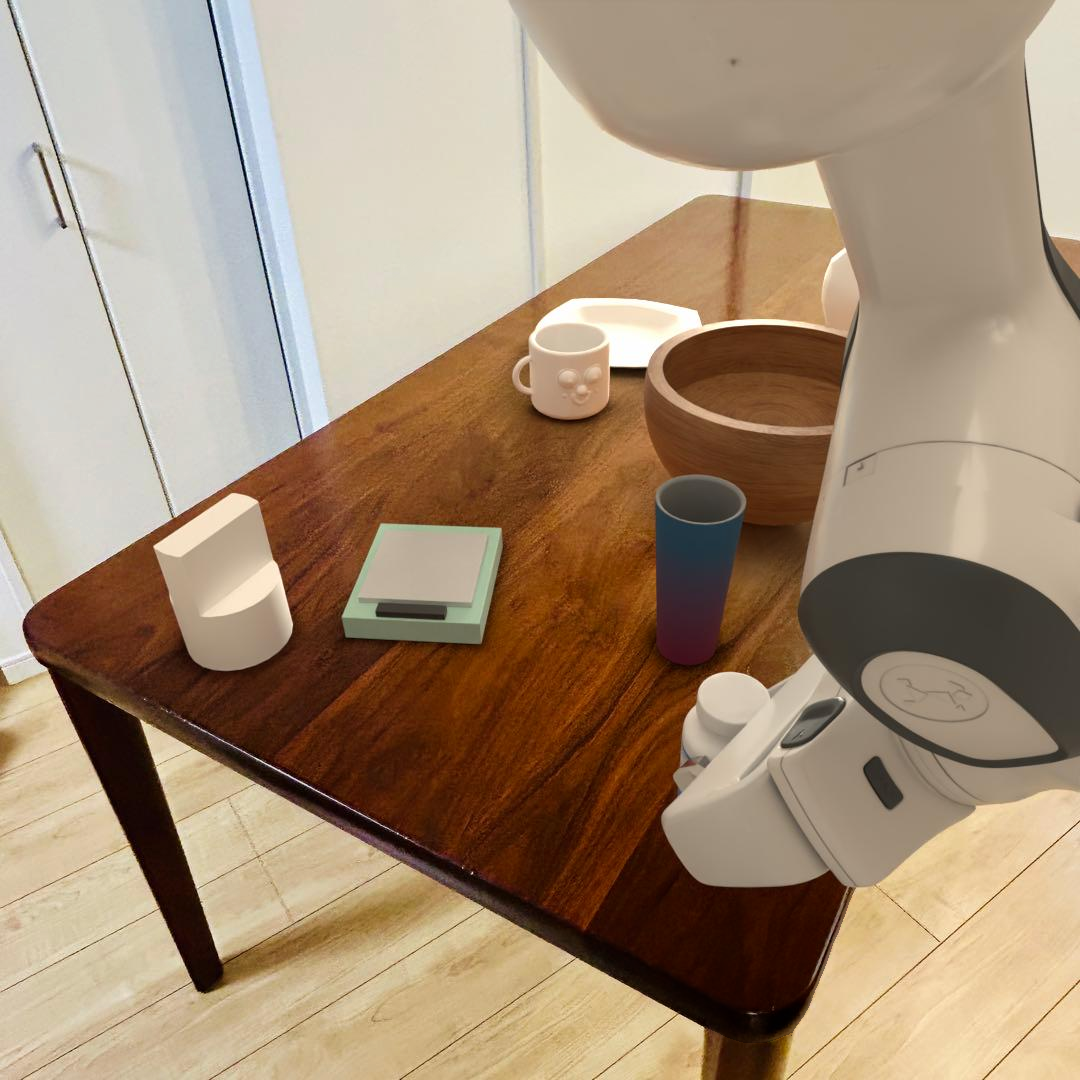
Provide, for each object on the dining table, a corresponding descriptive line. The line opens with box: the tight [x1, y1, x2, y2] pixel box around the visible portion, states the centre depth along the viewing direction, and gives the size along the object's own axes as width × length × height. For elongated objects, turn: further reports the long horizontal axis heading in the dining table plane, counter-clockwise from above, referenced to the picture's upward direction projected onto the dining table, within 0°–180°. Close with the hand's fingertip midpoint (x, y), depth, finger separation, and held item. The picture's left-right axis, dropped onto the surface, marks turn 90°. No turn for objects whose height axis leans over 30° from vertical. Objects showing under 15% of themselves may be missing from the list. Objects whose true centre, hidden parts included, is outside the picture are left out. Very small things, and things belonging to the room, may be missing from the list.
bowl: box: [643, 318, 848, 526], centre depth 89 cm, size 25×25×15 cm
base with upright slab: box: [153, 492, 294, 672], centre depth 76 cm, size 9×9×12 cm
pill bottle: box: [677, 671, 770, 797], centre depth 53 cm, size 6×5×10 cm
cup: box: [654, 475, 746, 666], centre depth 72 cm, size 7×7×15 cm
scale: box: [341, 522, 504, 645], centre depth 83 cm, size 14×12×3 cm
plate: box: [534, 297, 703, 369], centre depth 126 cm, size 23×23×2 cm
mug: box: [511, 322, 611, 421], centre depth 109 cm, size 12×10×9 cm
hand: (718, 745), depth 53 cm, fingers closed on pill bottle, 5 cm apart
